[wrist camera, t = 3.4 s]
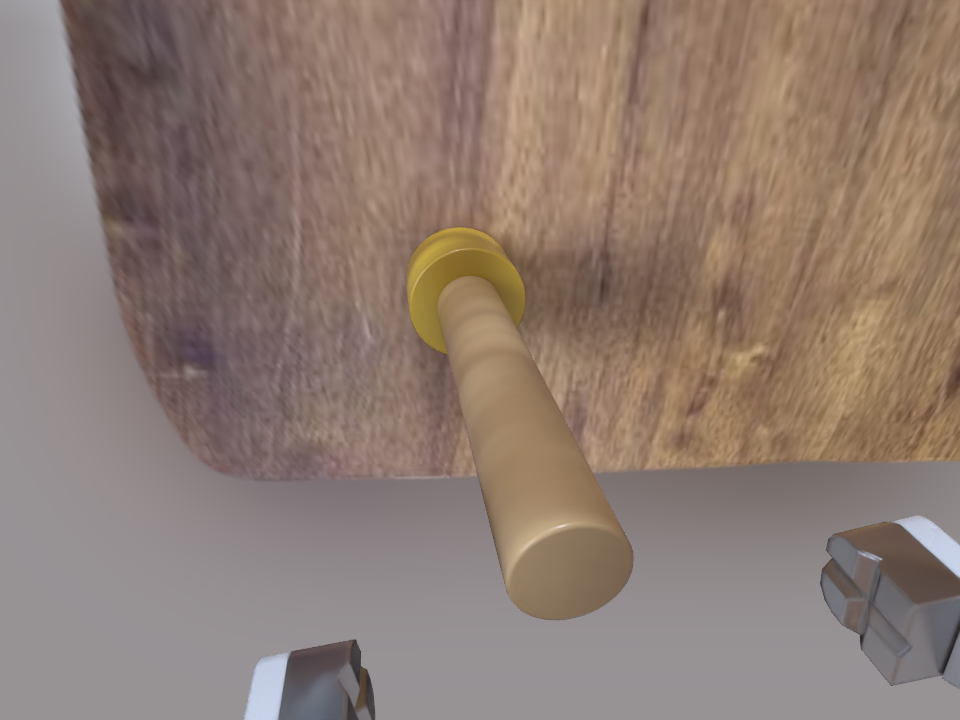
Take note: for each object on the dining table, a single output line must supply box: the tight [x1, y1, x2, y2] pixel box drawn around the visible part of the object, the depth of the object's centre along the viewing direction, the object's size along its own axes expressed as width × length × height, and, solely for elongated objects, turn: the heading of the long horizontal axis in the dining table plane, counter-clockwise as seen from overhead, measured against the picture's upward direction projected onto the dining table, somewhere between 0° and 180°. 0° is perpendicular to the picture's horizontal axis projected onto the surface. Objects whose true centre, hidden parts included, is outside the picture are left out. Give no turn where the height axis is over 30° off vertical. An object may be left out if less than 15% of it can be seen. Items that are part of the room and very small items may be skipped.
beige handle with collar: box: [406, 227, 633, 620], centre depth 18 cm, size 4×4×16 cm
